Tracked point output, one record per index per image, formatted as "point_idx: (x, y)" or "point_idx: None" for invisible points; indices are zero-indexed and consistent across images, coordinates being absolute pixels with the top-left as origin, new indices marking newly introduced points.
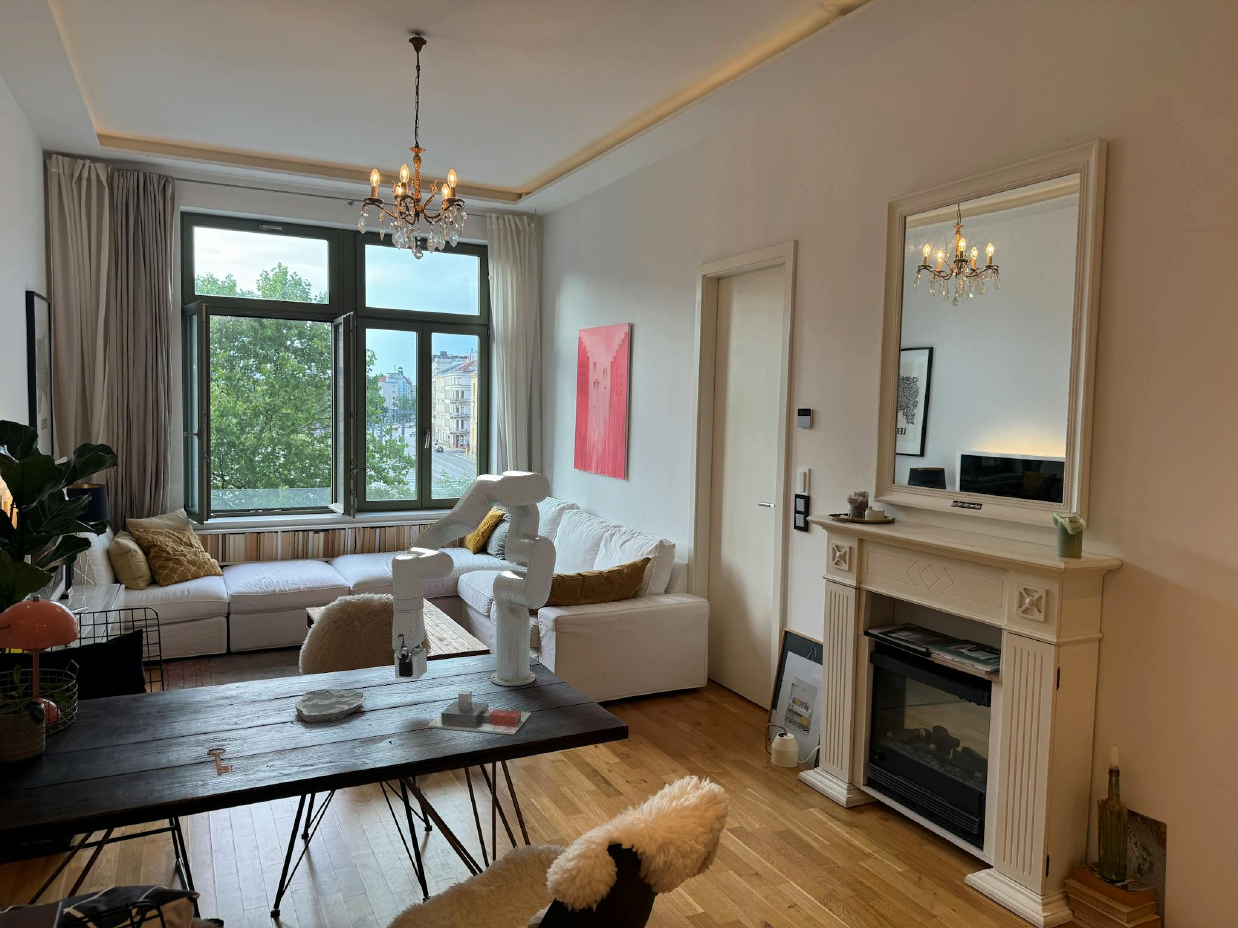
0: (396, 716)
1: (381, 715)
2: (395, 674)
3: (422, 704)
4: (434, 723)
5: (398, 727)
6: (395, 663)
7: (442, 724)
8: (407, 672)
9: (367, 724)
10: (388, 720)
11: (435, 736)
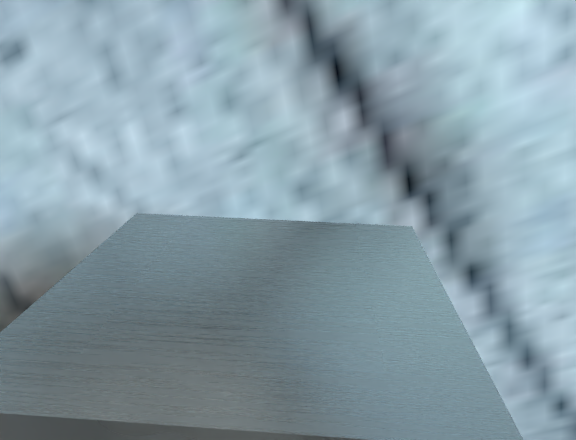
0: (184, 154)
1: (175, 52)
2: (122, 232)
3: (408, 225)
4: None
5: (36, 230)
6: (44, 310)
7: None
8: None
9: (7, 32)
10: (110, 134)
11: None
